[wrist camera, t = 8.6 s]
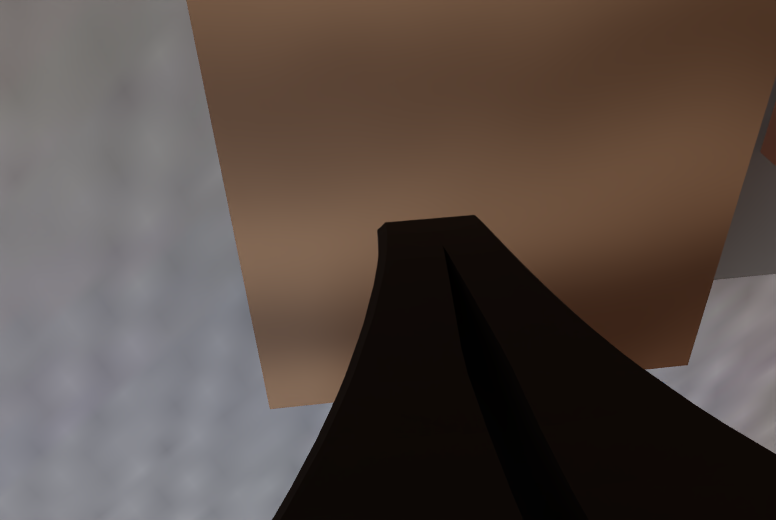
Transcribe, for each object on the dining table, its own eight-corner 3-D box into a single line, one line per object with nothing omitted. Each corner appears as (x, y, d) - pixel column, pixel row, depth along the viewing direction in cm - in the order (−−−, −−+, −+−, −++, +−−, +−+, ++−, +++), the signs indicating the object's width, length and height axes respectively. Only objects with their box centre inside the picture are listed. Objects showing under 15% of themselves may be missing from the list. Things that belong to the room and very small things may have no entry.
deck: (634, 279, 24) (687, 365, 20) (273, 314, 23) (270, 408, 20) (805, -500, 13) (975, -577, 10) (131, -481, 12) (72, -558, 9)
